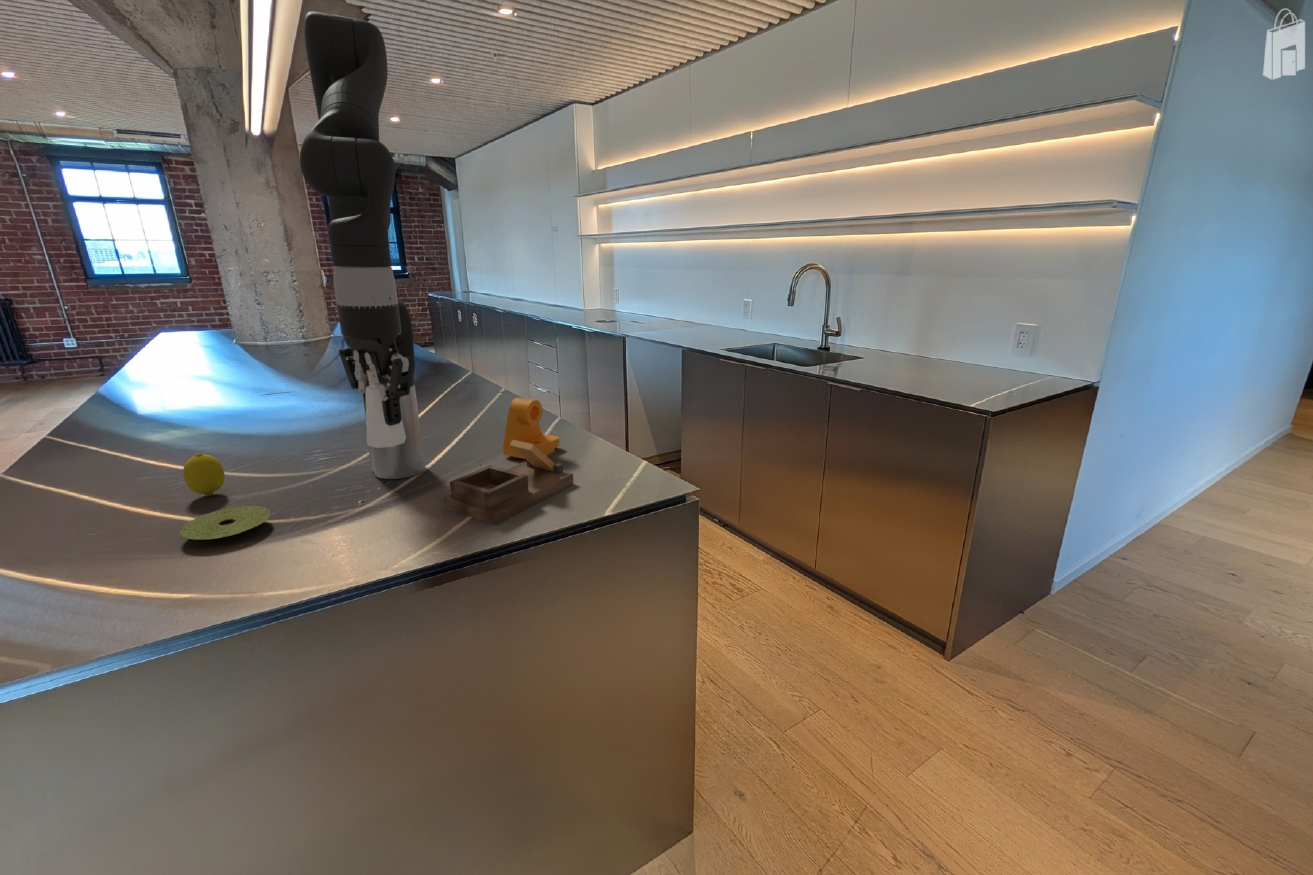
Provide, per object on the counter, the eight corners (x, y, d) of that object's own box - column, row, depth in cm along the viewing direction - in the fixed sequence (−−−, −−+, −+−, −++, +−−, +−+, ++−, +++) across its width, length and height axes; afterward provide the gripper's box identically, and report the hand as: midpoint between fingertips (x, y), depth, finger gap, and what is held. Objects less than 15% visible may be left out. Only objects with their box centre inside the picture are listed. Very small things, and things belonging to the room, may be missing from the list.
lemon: (186, 504, 95) (174, 460, 93) (193, 492, 100) (182, 450, 98) (226, 498, 98) (215, 455, 95) (231, 487, 103) (221, 446, 100)
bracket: (531, 463, 116) (528, 407, 112) (503, 458, 119) (499, 403, 115) (561, 448, 125) (558, 396, 122) (534, 443, 128) (531, 392, 125)
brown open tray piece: (444, 507, 95) (441, 480, 94) (525, 471, 112) (523, 447, 110) (495, 524, 90) (493, 496, 88) (573, 483, 106) (572, 458, 105)
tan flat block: (509, 445, 102) (512, 439, 102) (534, 467, 109) (538, 461, 109) (530, 450, 99) (533, 443, 100) (555, 472, 107) (558, 466, 107)
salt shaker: (413, 437, 85) (405, 366, 82) (394, 449, 80) (384, 373, 77) (380, 435, 86) (370, 364, 82) (358, 447, 81) (347, 371, 77)
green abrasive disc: (262, 543, 83) (259, 531, 83) (169, 556, 79) (165, 543, 79) (280, 511, 93) (278, 501, 93) (199, 522, 89) (196, 511, 89)
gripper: (425, 303, 76) (437, 423, 82) (361, 296, 83) (377, 408, 88) (374, 307, 70) (391, 437, 76) (310, 299, 77) (330, 419, 82)
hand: (383, 420), depth 82 cm, fingers closed on salt shaker, 3 cm apart
